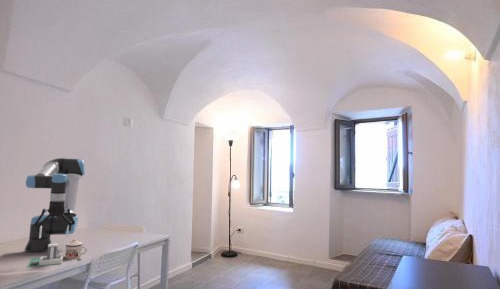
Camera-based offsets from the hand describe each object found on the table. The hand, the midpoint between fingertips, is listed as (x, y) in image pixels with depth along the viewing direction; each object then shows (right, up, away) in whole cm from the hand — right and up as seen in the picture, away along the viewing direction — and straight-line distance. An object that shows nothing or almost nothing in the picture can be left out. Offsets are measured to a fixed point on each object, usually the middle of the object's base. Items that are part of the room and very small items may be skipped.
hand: (53, 237), depth 183 cm
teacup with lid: (+6, -17, +12) cm, 21 cm away
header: (-1, -14, -1) cm, 14 cm away
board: (-5, -15, 0) cm, 16 cm away
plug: (-1, -14, -2) cm, 14 cm away
